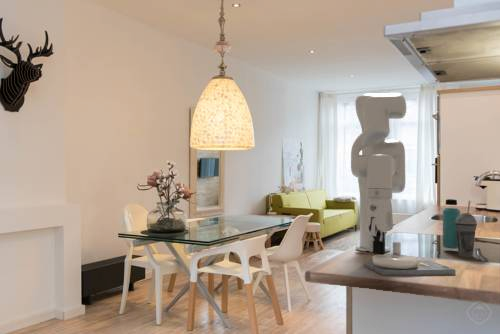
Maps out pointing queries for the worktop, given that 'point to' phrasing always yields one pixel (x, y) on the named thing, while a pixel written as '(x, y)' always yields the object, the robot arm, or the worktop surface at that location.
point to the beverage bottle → (450, 225)
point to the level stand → (413, 269)
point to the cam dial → (395, 259)
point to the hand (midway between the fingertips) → (378, 253)
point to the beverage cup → (465, 233)
